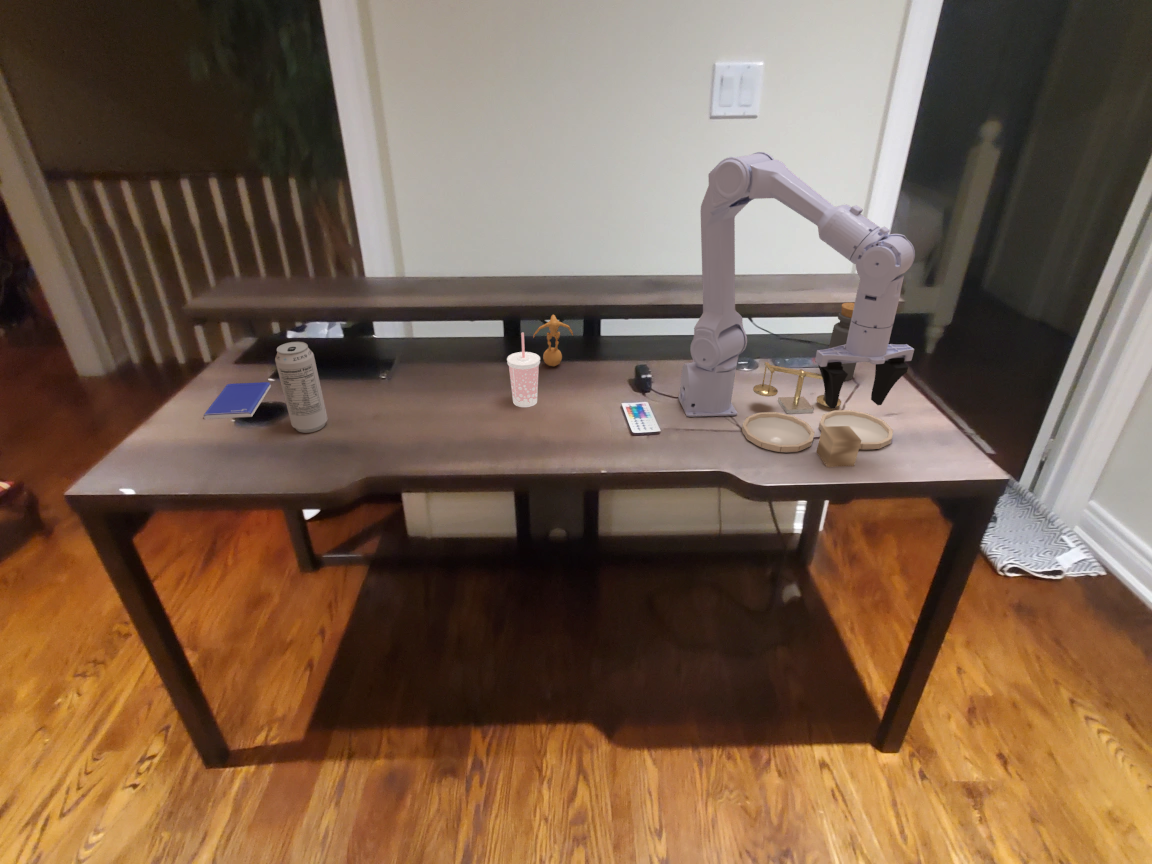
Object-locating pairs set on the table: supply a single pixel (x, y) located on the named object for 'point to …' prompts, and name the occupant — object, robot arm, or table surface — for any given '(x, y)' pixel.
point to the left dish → (778, 432)
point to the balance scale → (796, 402)
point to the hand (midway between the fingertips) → (853, 404)
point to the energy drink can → (301, 386)
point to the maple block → (838, 446)
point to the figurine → (553, 354)
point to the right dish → (860, 427)
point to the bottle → (843, 335)
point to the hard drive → (238, 400)
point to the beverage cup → (524, 376)
